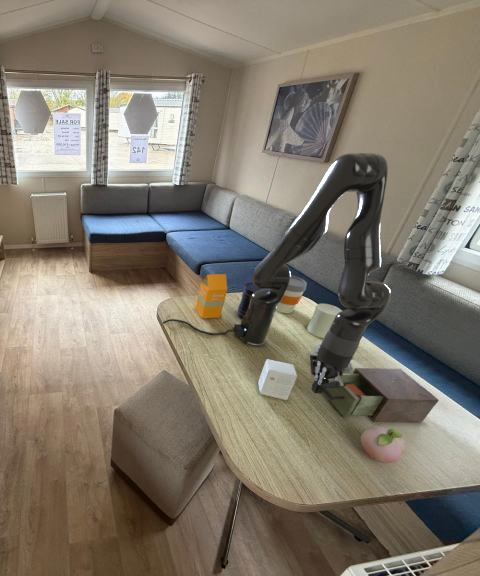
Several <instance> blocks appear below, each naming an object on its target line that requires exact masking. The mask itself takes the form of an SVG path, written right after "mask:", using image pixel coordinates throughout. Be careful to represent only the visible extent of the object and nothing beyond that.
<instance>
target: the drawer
mask: <svg viewBox="0 0 480 576" xmlns="http://www.w3.org/2000/svg"><path fill="white" fill-rule="evenodd" d="M334 379H335V378H334ZM334 379H333V380H334ZM341 379H342V382H345V383H346V384H354V385H355V386H356V387H357V388H358V389H359V390H360V391H361V392H362V393H363V394H364V395H365V396H360V397H359V398H358V397H357V396H356V395H355V394H354V393H353V392H352V391H351V390H350V389H349V388H348V387H347V386H344V387H338V388H325V389H324V391H323V393H322V394H324V395H325V397H326V398H327V399H328V400H329V401H330V402H331V404H332V405H333V406H334V407H335V408H336V410H337V411H338V412H339V413H340V414H341V415H342V416H343V418H344V419H348V418H350V417H351V416H367V415H370V416H374V415H375V413H376V412H377V410H378V409H379V407H380V406H381V404H382V403H383V401H384V400H385V398H384V397H383V396H381V395H380V394H379V393H378V392H377V391H376V390H375V389H374V388H373V387H372V386H371V385H370V384H369V383H368V382H367V381H366V380H365V379H364V378H362V377H361V376H360V375H359V374H356V373H353V372H352V373H349V372H343V375H342V376H341ZM331 382H332V381H331Z"/></svg>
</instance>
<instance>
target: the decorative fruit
mask: <svg viewBox="0 0 480 576" xmlns="http://www.w3.org/2000/svg"><path fill="white" fill-rule="evenodd" d="M360 441H361V445H362V448H363V450H364V451H365V452H366V454H367V455H368V456H369V457H371V459H373V460H374V461H376V462H379V463H382V464H394V463H397V462H399V461H400V460H401V458H402V456H403V455H404V454H405V453H406V451H407V444H406V442H405V440H404V438H403V433H402V432H401V431H400V430H398V429H395V428H387V427H384V426H380V425H373V426H369V427H367V428H365V429H364V430H363V431H362V433H361V435H360Z"/></svg>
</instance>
